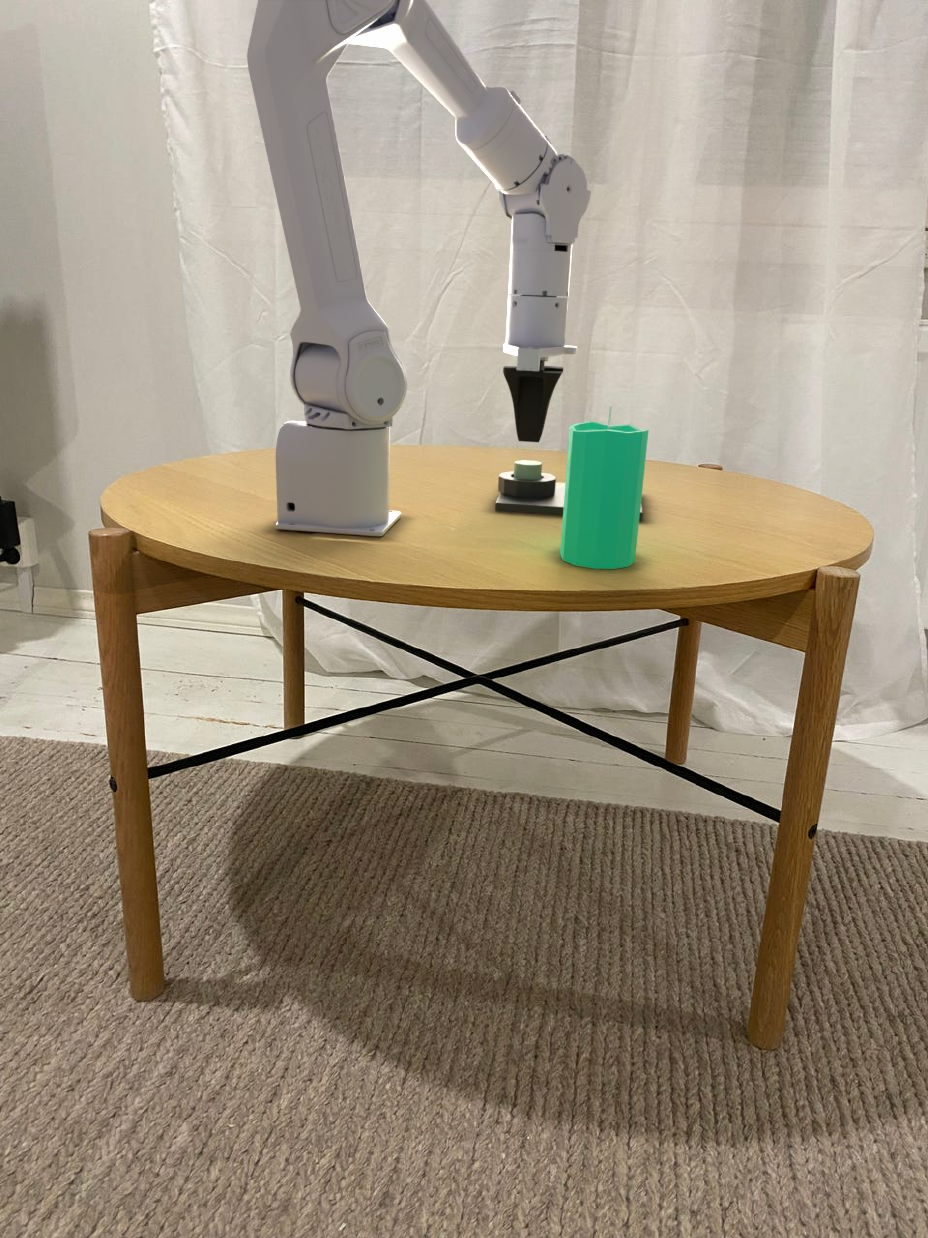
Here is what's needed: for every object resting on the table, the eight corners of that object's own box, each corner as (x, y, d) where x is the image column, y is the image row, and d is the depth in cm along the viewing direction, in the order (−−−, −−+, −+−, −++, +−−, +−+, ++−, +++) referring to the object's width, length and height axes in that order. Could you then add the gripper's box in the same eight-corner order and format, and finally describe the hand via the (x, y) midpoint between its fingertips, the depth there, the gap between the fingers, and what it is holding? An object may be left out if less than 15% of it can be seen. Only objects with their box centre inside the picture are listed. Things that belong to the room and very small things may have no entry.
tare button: (512, 481, 92) (513, 463, 91) (514, 476, 95) (515, 459, 94) (540, 483, 92) (541, 465, 91) (542, 478, 94) (543, 460, 94)
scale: (491, 511, 89) (492, 485, 88) (504, 487, 100) (505, 464, 99) (642, 521, 87) (644, 495, 86) (638, 495, 98) (641, 472, 97)
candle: (633, 572, 71) (650, 413, 67) (556, 565, 72) (567, 408, 68) (635, 552, 76) (651, 404, 72) (563, 545, 77) (574, 400, 73)
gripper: (577, 298, 80) (566, 454, 84) (582, 298, 93) (572, 433, 98) (497, 294, 81) (489, 450, 85) (513, 295, 94) (506, 429, 99)
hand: (529, 440), depth 92 cm, fingers closed
